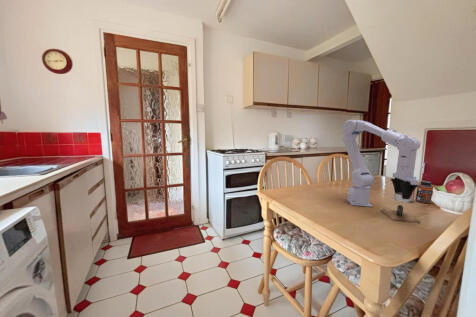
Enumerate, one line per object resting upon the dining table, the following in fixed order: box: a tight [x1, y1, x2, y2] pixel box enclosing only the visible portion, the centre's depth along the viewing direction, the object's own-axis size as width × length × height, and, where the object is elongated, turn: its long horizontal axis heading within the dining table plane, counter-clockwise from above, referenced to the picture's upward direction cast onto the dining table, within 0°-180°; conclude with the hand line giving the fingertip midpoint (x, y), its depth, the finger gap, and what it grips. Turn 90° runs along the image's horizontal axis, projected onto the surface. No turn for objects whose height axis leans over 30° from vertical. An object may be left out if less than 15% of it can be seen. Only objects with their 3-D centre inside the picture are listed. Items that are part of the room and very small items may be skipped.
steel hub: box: [393, 191, 410, 203], centre depth 84 cm, size 5×5×3 cm
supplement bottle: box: [415, 180, 434, 205], centre depth 103 cm, size 6×6×11 cm
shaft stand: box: [380, 204, 421, 224], centre depth 84 cm, size 10×10×5 cm
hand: (401, 196), depth 84 cm, fingers closed on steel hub, 5 cm apart
